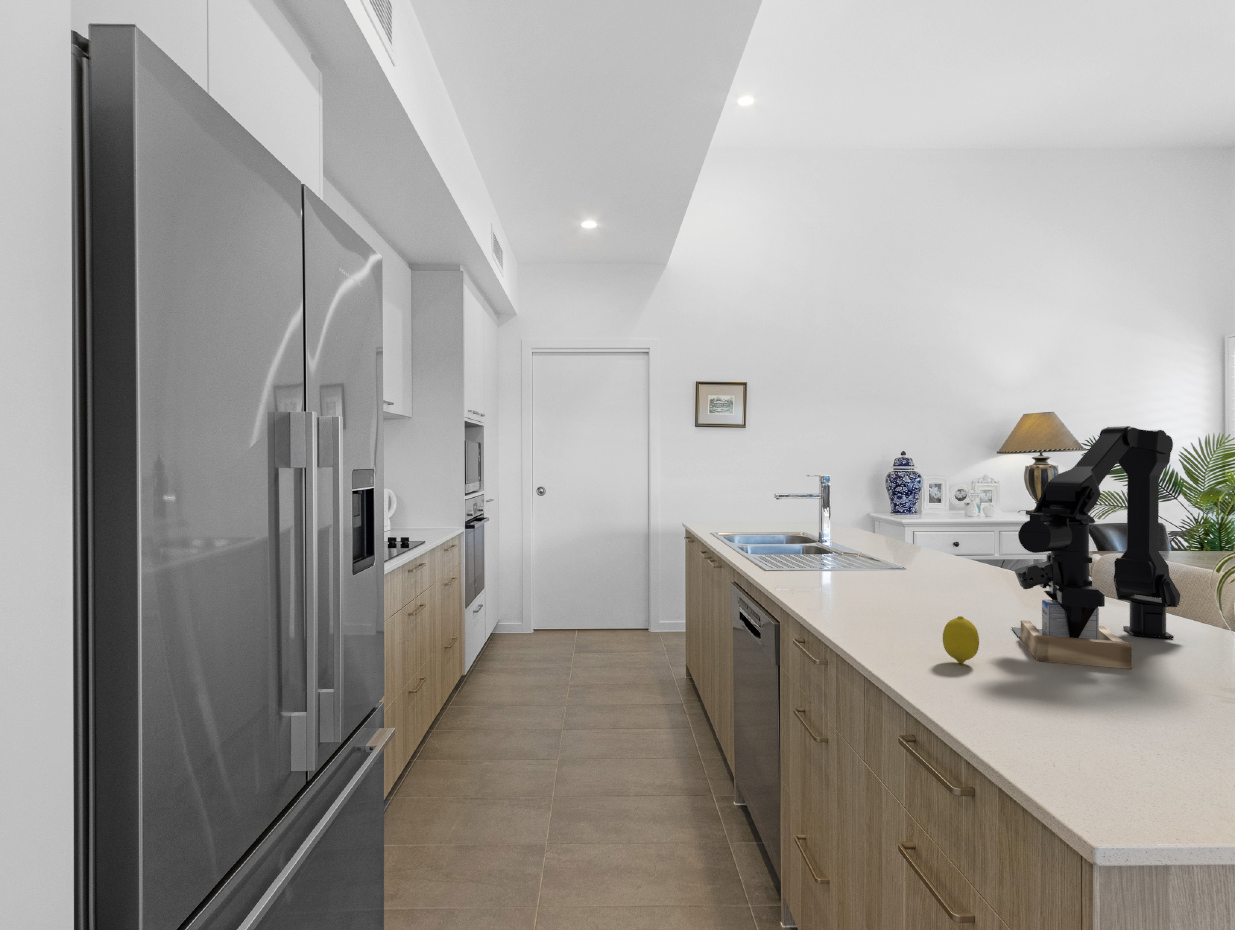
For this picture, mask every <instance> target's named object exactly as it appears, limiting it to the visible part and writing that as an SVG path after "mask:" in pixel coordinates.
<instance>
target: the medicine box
mask: <svg viewBox="0 0 1235 930" xmlns="http://www.w3.org/2000/svg"><path fill="white" fill-rule="evenodd" d="M1099 616H1100V607H1098V608H1096V610H1095V611H1094V613H1093V614H1092V616H1091V617H1090V619H1089V621H1088V622H1087V624H1086V626H1085V628H1084V629H1083V631H1082V633H1081V635H1080V637H1079V638H1081V639H1094V640H1099V626H1100V617H1099ZM1041 629H1042V635H1043V636H1054V637H1067V638H1069V633H1068V628H1067V623H1066V617H1065V612H1064V609H1063V608H1062V607H1061V606H1060V605H1058V604H1057V603H1056V602H1055V600H1052V599H1042V601H1041Z"/></svg>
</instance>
